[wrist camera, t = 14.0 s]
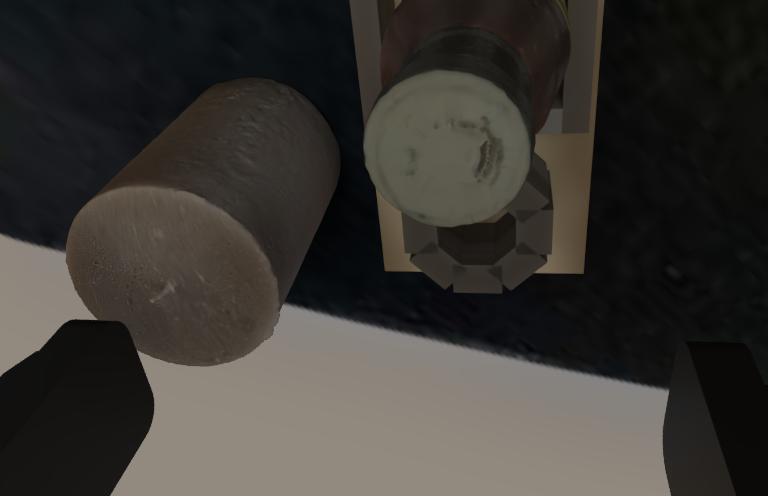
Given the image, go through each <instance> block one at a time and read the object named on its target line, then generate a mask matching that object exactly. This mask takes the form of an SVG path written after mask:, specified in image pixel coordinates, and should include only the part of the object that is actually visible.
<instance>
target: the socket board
mask: <svg viewBox="0 0 768 496" xmlns="http://www.w3.org/2000/svg"><path fill="white" fill-rule="evenodd" d="M401 1H402V0H350V8H351V17H352V25H353V34H354V42H355V51H356V59H357V68H358V77H359V85H360V94H361V102H362V111H363V120H364V128H365V126H366V122H367V119H368V116H369V113H370V111H371V109H372V107H373V105H374V102H375V100H376V99H377V97H378V95H379V94H380V92H381V90H382V88H381V86H382V83H381V77H380V76H381V69H380V53H381V48H382V42H383V38H384V34H385V32H386V29H387V26H388V22H389V19H390V16H391V14H392V12H393V11H394V10H395V9H396V8H397V6H398V5H399V4H400V3H401ZM565 1H566V8H567V13H568V14H567V15H568V22H569V28H570V41H571V51H570V59H569V63H568V66H567V69H566V72H565V74H564V77H563V80H562V82H561V85H560V87H559V90H558V92H557V95H556V97H555V100H554V103H553V105H552V108H551V110H550V113H549V116H548V118H547V121H546V123H545V125H544V126H543V128H542V129H541V130H540V131H539V132H538V133H537V134H535V137H536V144H535V148H534V153H533V158H532V166H531V171H530V173H529V175H528V177H527V180H526V182H525V184H524V185H523V186H522V188H521V189H520V191H519V193H518V195H517V197H516V198H515V199H514V200H513V201H511V202H510V203H509V204H508V205H507V206H506V207H505V208H504V210H502V211H500V212H498V213H497V214H495V215H493V216H492V217H490V218H488V219H487V220H484V221H480V222H476V223H473V224H470V225H460V226H456V227H440V226H433V225H429V224H424V223H421V222H419V221H417V220H415V219H413V218H412V217H410V216H408V215H407V214H405V213H403V212H401V211H399V210H397V209H396V208H395V207H393V206H392V205H390V204H389V203H388V202H387V201H386V200H385V199H384V198H383V196H382V195H381V194H380V192H379V191H378V190H377V188H376V194H377V203H378V212H379V220H380V229H381V238H382V247H383V256H384V265H385V271H422V272H424V273H425V274H426V275H427V276H429V277H430V278H431V279H432V280H434V281H435V282H436V283H438V284H439V285H440V286H441V287H443V288H444V289H446V288H447V287H449V286H450V285H451V284H452V283H453V288H454V293H502V284H504V285H505V286H506V287H507V288H508V289H510V290H512V289H514V288H515V287H516V286H518V285H519V284H520V283H521V282H523V281H524V280H525V279H527V278H528V277H529V276H530V275H532V274H533V273H578V274H584V261H585V247H586V234H587V221H588V208H589V195H590V181H591V168H592V155H593V142H594V129H595V115H596V102H597V89H598V76H599V62H600V49H601V36H602V23H603V10H604V0H565Z"/></svg>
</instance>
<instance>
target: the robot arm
mask: <svg viewBox="0 0 768 496" xmlns="http://www.w3.org/2000/svg"><path fill="white" fill-rule="evenodd" d="M153 415H154V397H153V393H152V390H151V387H150V384H149V382H148V379H147V377H146V374H145V371H144V369H143V366H142V363H141V361H140V358H139V355H138V353H137V350H136V347H135V345H134V342H133V340H132V337H131V334H130V332H129V330H128V328H127V327H126V325H124V324H123V323H122V322H120V321H107V320H77V319H75V320H70V321H68V322H66V323H65V324H63V325H62V326H61V327H60V328H59V329H58V330H57V332H56V333H55V334H54V335H53V336H52V337H51V338H50V339H49V340H48V342H47V343H46V344H45V345H44V346H43V347H42V348H41V349H40V350H39V351H36V352H35V353H33V354H32V355H30V356H29V357H27V358H26V359H24V360H23V361H21V362H20V363H18V364H17V365H15V366H14V367H12V368H11V369H9V370H8V371H7V372H5V373H3V375H2V376H1V377H0V496H110V495H111V493H112V491H113V490H114V488H115V486H116V485H117V483H118V481H119V480H120V478H121V476H122V475H123V473H124V472H125V470H126V468H127V467H128V465H129V463H130V462H131V460H132V458H133V457H134V455H135V453H136V452H137V450H138V449H139V447H140V445H141V443H142V442H143V440H144V439H145V437H146V435H147V433H148V432H149V429H150V427H151V423H152V420H153ZM663 455H664V464H665V470H666V474H667V479H668V483H669V488H670V492H671V496H768V385H765V384H764V382H763V379H762V377H761V375H760V373H759V370H758V368H757V366H756V363H755V361H754V359H753V357H752V354H751V352H750V350H749V348H748V347H747V346H746V345H745V344H743V343H722V342H692V341H682V342H680V343H679V345H678V348H677V351H676V356H675V362H674V367H673V373H672V379H671V384H670V390H669V396H668V402H667V407H666V413H665V419H664V426H663Z"/></svg>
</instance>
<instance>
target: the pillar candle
mask: <svg viewBox="0 0 768 496" xmlns="http://www.w3.org/2000/svg"><path fill="white" fill-rule="evenodd" d="M340 168H341V158H340V150H339V146H338V142H337V140H336V138H335V136H334V134H333V132H332V130H331V128H330V126H329V124H328V123H327V121H326V120H325V118H324V117H323V116H322V114H321V113H320V112H319V110H318V109H317V108H316V107H315V105H314V104H313V103H312V102H311V101H310V100H309V99H308V98H306V97H305V96H304V95H302V94H301V93H300V92H298V91H296V90H295V89H293V88H292V87H290V86H288V85H286V84H282V83H279V82H276V81H274V80H271V79H267V78H255V77H246V78H239V79H234V80H230V81H227V82H224V83H217V84H215V85H213V86H212V87H211V88H209V89H208V90H206V91H205V92H203V93H202V94H201V95H200V96H199V97H198V98H197V99H196V101H194V102H193V103H192V104H191V105H190V106H189V107H188V108H187V109H186V110H185V111H184V112H183V113H181V114H180V116H179V117H178V118H177V119H176V120H174V121H173V122H172V123H171V124H170V125H169V126H168V127H167V128H166V129H165V130H164V131H163V132H162V133H161V134H160V135H159V136H158V137H157V138H156V139H154V140H153V141H152V142H151V143H150V144H149V145H148V146H147V147H146V148H144V149H143V150H142V152H141V153H140V154H138V155H137V156H136V157H135V158H134V159H133V160H132V161H131V162H130V163H128V164H127V166H126V167H125V168H123V169H122V170H121V171H120V172H119V173H118V174H117V175H116V176H115V177H114V178H113V179H112V180H111V181H110V182H109V183H108V184H107V185H106V186H105V187H104V188H103V189H102V190H100V191H99V193H98V194H96V195H95V196H94V197H93V198H92V199H91V200H90V201H89V202H88V203H87V204H86V205H85V206H84V207H83V208H82V209H81V210H80V211H79V213H78V214H77V216H76V217H75V219H74V221H73V222H72V225H71V228H70V231H69V235H68V239H67V244H66V263H67V265H68V269H69V273H70V275H71V279H72V281H73V284H74V287H75V290H76V291H77V293H78V295H79V297H80V298H81V299H82V301H83V302H84V304H85V306H86V307H87V308H88V310H89V311H90V312H91V313H92V314H93V315H94V316H95V317H96V318H97V319H98V320H107V321H120V322H122V323H123V324H124V325H126V327H127V328H128V330H129V332H130V334H131V337H132V340H133V342H134V345H135V347H136V350H138V351H140V352H142V353H144V354H147V355H149V356H151V357H153V358H157V359H160V360H163V361H166V362H169V363H175V364H180V365H187V366H213V365H218V364H223V363H227V362H231V361H234V360H236V359H239V358H241V357H244V356H245V355H247V354H249V353H250V352H252V351H253V350H254V349H256V348H257V347H258V346H259V345H260V344H261V343H262V342H263V341H264V340H267V339H268V338H270V337H271V336H272V335H273V331H274V329H273V327H274V326H275V325H276V324H277V323H278V319H279V316H280V313H279V312H280V309H281V307H282V305H283V303H284V301H285V299H286V296H287V294H288V292H289V290H290V288H291V286H292V284H293V282H294V280H295V278H296V275H297V273H298V271H299V268H300V266H301V264H302V262H303V260H304V257H305V255H306V253H307V251H308V249H309V246H310V244H311V242H312V240H313V238H314V235H315V233H316V231H317V229H318V227H319V225H320V223H321V220H322V218H323V216H324V213H325V211H326V209H327V207H328V205H329V202H330V200H331V198H332V196H333V194H334V191H335V189H336V187H337V183H338V178H339V175H340Z"/></svg>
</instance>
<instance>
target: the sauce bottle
mask: <svg viewBox="0 0 768 496" xmlns="http://www.w3.org/2000/svg"><path fill="white" fill-rule="evenodd" d="M567 14H568V13H567V8H566V1H565V0H402V1H401V3H400V4H399V5H398V6H397V8H396V9H395V10H394V11H393V12H392V14H391V16H390V19H389V22H388V26H387V29H386V32H385V34H384V38H383V42H382V48H381V53H380V69H381V76H380V77H381V83H382V86H381V88H382V90H381V92H380V94H379V95H378V97H377V99H376V100H375V102H374V105H373V107H372V109H371V111H370V113H369V116H368V119H367V122H366V126H365V129H364V136H363V152H364V162H365V167H366V168H367V170H368V172H369V174H370V178H371V180H372V182H373V183H374V185H375V187H376V188H377V190H378V191H379V192H380V194H381V195H382V196H383V198H384V199H385V200H386V201H387V202H388V203H389V204H390V205H392V206H393V207H395V208H396V209H397V210H399V211H401V212H403V213H405V214H407V215H408V216H410V217H412V218H413V219H415V220H417V221H419V222H421V223H424V224H429V225H433V226H440V227H456V226H460V225H470V224H473V223H476V222H480V221H484V220H487V219H488V218H490V217H492V216H493V215H495V214H497V213H498V212H500V211H502V210H504V208H505V207H506V206H507V205H508V204H509V203H510V202H511V201H513V200H514V199H515V198H516V197H517V195H518V193H519V191H520V189H521V188H522V186H523V185H524V184H525V182H526V180H527V177H528V175H529V173H530V171H531V166H532V158H533V153H534V148H535V144H536V137H535V134H537V133H538V132H539V131H540V130H541V129H542V128H543V126H544V125H545V123H546V121H547V118H548V116H549V113H550V110H551V108H552V105H553V103H554V100H555V97H556V95H557V92H558V90H559V87H560V85H561V82H562V80H563V77H564V74H565V72H566V69H567V66H568V63H569V59H570V51H571V41H570V28H569V22H568V15H567Z"/></svg>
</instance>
